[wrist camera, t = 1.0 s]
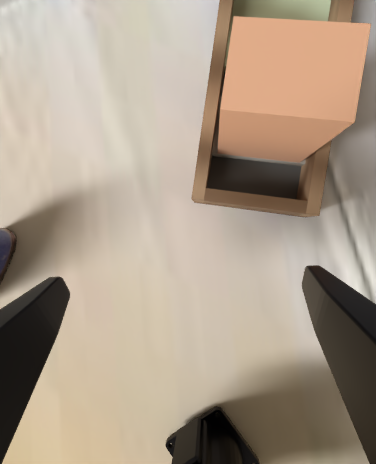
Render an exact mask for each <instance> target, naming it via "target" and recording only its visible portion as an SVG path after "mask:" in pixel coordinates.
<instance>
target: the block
mask: <svg viewBox="0 0 376 464" xmlns="http://www.w3.org/2000/svg"><path fill="white" fill-rule="evenodd" d="M370 27H371V24H366V23H348V22H330V21H311V20H293V19H275V18H257V17H239V16H234V17H233V24H232V31H231V38H230V45H229V51H228V58H227V65H226V72H225V79H224V86H223V93H222V100H221V107H220V119H219V135H218V152H217V154H225V155H234V156H243V157H252V158H260V159H269V160H278V161H287V162H296V163H300V162H301V161H303V160H304V159H305V158H307V157H308V156H309V155H311V154H312V153H314V152H315V151H316V150H318V149H319V148H320V147H322V146H323V145H324V144H326V143H327V142H328V141H330V140H331V139H333V138H334V137H335V136H337V135H338V134H339V133H341V132H342V131H343V130H345V129H346V128H347V127H349V126H350V125H352V124H353V123H354V122H355V117H356V111H357V105H358V99H359V93H360V87H361V81H362V75H363V69H364V63H365V57H366V51H367V45H368V39H369V33H370Z"/></svg>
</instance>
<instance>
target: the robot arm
mask: <svg viewBox="0 0 376 464" xmlns="http://www.w3.org/2000/svg"><path fill="white" fill-rule="evenodd" d="M302 289H303V293H304V296H305V300H306V303H307V307H308V310H309V314H310V317H311V321H312V324H313V327H314V330H315V333H316V336H317V338H318V341H319V343H320V345H321V348H322V350H323V353H324V355H325V357H326V360H327V362H328V365H329V367H330V369H331V372H332V374H333V377H334V379H335V381H336V384H337V386H338V389H339V391H340V393H341V396H342V398H343V401H344V403H345V405H346V408H347V410H348V413H349V415H350V417H351V420H352V422H353V425H354V427H355V429H356V432H357V434H358V437H359V439H360V441H361V444H362V446H363V449H364V451H365V453H366V456H367V458H368V461H369V463H370V464H376V304H375V303H373V302H372V301H370V300H369V299H367V298H366V297H364V296H363V295H362V294H360V293H359V292H357V291H356V290H354V289H353V288H351V287H350V286H348V285H347V284H345V283H344V282H343V281H341V280H340V279H338V278H337V277H335V276H334V275H332V274H331V273H329V272H328V271H327V270H325V269H324V268H322V267H321V266H317V265H316V266H307V267H306V268H305V271H304V276H303V281H302ZM69 298H70V291H69V289H68V287H67V286H66V284H65V282H64V280H63V278H61V277H49V278H48V279H46V280H44V281H43V282H41V283H40V284H38V285H37V286H35V287H34V288H32V289H31V290H29V291H28V292H26V293H25V294H23V295H22V296H20V297H19V298H17V299H15V300H14V301H12V302H11V303H9V304H8V305H6V306H5V307H3V308H2V309H0V464H2V462H3V459H4V457H5V455H6V453H7V450H8V448H9V446H10V443H11V441H12V439H13V436H14V434H15V432H16V430H17V427H18V425H19V423H20V420H21V418H22V416H23V413H24V411H25V409H26V407H27V404H28V402H29V400H30V397H31V395H32V393H33V390H34V388H35V386H36V383H37V381H38V379H39V377H40V374H41V372H42V370H43V367H44V365H45V363H46V360H47V358H48V356H49V354H50V351H51V349H52V347H53V344H54V342H55V340H56V337H57V335H58V332H59V329H60V326H61V323H62V320H63V317H64V314H65V310H66V307H67V304H68V301H69ZM217 412H219V413H220V414H216V413H217ZM170 443H172V444H170ZM166 448H167V449H168V451H169V452H170V454H171V455H172V457H173V459H172V464H252V463H255V464H260V463H259V460H258V458H257V456H256V455H255V454H254V452H253V451H252V449H251V448H250V447H249V445H248V444H247V443H246V441H245V440H244V438H243V437H242V436H241V434H240V433H239V432H238V430H237V429H236V427H235V426H234V425H233V423H232V422H231V420H230V419H229V418H228V416H227V415H226V414H225V412H224V411H223V409H222V408H221V407H214V408H213V409H211V410H210V411H208V412H207V413H205V414H204V415H202V416H201V417H197V418H195V419H194V420H192V421H191V422H189V423H188V424H186V425H185V426H183V427H182V428H180V429H179V430H178V431H177V432H176V433H175V434H173V435H172V436H170V437H168V439H167V441H166Z"/></svg>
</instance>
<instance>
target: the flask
mask: <svg viewBox="0 0 376 464" xmlns="http://www.w3.org/2000/svg"><path fill="white" fill-rule="evenodd" d="M10 232H11V231H10V230H8V229H4V228H0V283H1V281H2V280H3V276H4V274H5V272H6V270H7V267H8V266H9V264H10V261H11V258H12V256H13V253H14V251H15V244H16V241H17V240H16V236H15V235H14V233H13V232H11V233H10Z"/></svg>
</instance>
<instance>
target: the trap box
mask: <svg viewBox="0 0 376 464" xmlns="http://www.w3.org/2000/svg"><path fill="white" fill-rule="evenodd" d="M353 5H354V0H220V3H219V10H218V17H217V24H216V31H215V38H214V45H213V52H212V59H211V66H210V73H209V80H208V87H207V94H206V101H205V108H204V115H203V122H202V129H201V136H200V143H199V150H198V157H197V164H196V171H195V178H194V185H193V192H192V200H193V201H194V202H195V203H203V204H210V205H218V206H225V207H232V208H240V209H247V210H255V211H262V212H270V213H277V214H285V215H292V216H300V217H311V216H319V214H320V208H321V202H322V196H323V190H324V183H325V177H326V171H327V165H328V159H329V153H330V147H331V140H332V139H331V140H330V141H328V142H327V143H326V144H324V145H323V146H322V147H320V148H319V149H318V150H316V151H315V152H314V153H312V154H311V155H309V156H308V157H307V158H305V159H304V160H303V161H301V162H300V163H296V162H287V161H278V160H269V159H260V158H252V157H243V156H234V155H225V154H217V152H218V135H219V119H220V107H221V100H222V93H223V86H224V79H225V72H226V65H227V58H228V51H229V45H230V38H231V31H232V24H233V17H234V16H239V17H257V18H275V19H293V20H311V21H330V22H348V23H351V17H352V11H353Z"/></svg>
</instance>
